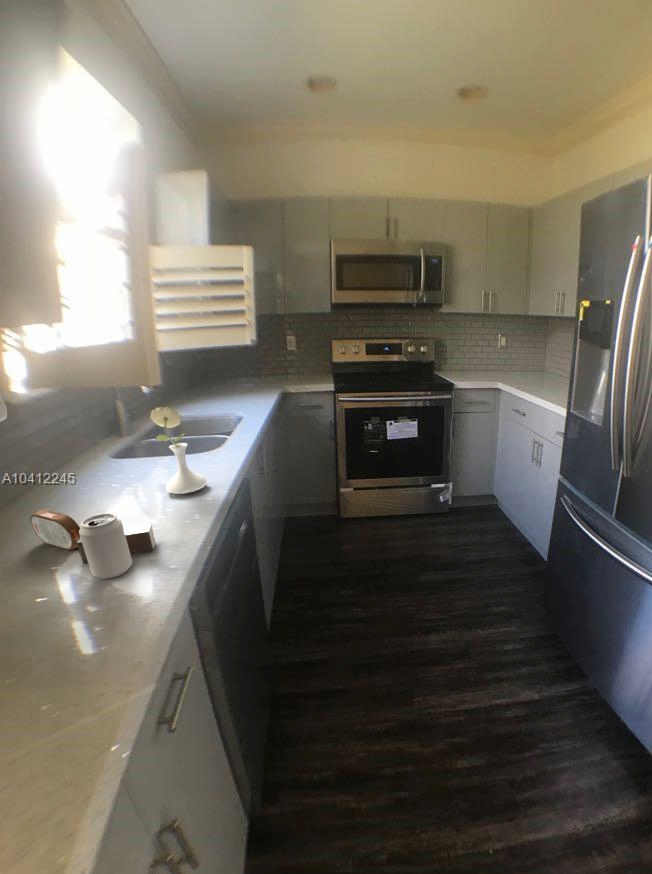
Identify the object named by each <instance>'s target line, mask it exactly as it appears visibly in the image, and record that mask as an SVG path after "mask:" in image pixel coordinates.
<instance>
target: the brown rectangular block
mask: <svg viewBox="0 0 652 874" xmlns="http://www.w3.org/2000/svg"><path fill="white" fill-rule="evenodd" d="M123 529H124V533H125V537H126V540H127V544H128V548H129V551H130V555H131V556H134V555H139V554H145V553H151V552H155V548H156V544H157V542H156V538H155V534H154V533H155V532H154V530H153V525H152V523H147V524H142V525H135V526H129V527H123ZM77 546H78V547H77V549H78V552H79V556H80V558H81V561H82V564H87V563H88V560H87V557H86V553H85V550H84V547H83V544H82V541H81V538H79V540H78V541H77ZM88 564H89V563H88Z"/></svg>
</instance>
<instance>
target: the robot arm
mask: <svg viewBox="0 0 652 874" xmlns="http://www.w3.org/2000/svg"><path fill="white" fill-rule="evenodd" d="M7 418H8V409H7V406H6V404H5V401H4V398H3V395H2V393H1V392H0V423H1V422H3V421H5V420H6V419H7Z"/></svg>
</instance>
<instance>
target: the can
mask: <svg viewBox="0 0 652 874" xmlns="http://www.w3.org/2000/svg"><path fill="white" fill-rule="evenodd" d="M80 528H81V529H80V530H79V534H80V538H81V541H82V544H83V547H84V550H85V553H86V557H87V560H88V567H89V570H90V572H91V575H92V576H93V577H96V578H98V579H102V580H105V579H106V580H109V579H113V578H116V577H119V576H121V575H123V574H125V573H126V572H128V571H129V570H130V568H131V566H132V565H133V562H134V561H133V559H132V555H130V551H129V548H128V544H127V540H126V537H125V533H124V529H123V528H124V526H123V521H122V519H119V518H117V515H116V514H115V513H109V512H108V513H106V512H105V513H99V514H95V515H92V516H89V517H87V518H85V519H84V520H82V521H81V522H80Z"/></svg>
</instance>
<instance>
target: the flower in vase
mask: <svg viewBox="0 0 652 874" xmlns="http://www.w3.org/2000/svg"><path fill="white" fill-rule="evenodd" d="M149 419H150V420H151V421H152V422H153V423H155V424H156V426H159V427H161V428H163V427H164V429H165V430H164V431H165V434H162V433H160V434H157V436H155V439H154V441H162V442H167V441H168V439H169V440H170V441H171V442H172V443H173V444H171V445H169V446H168V449H170V450H171V451H172V452H173V454H174V455H175V458H176V460H177V467H178V469H177V471H176V473H175V474H174V475H173V476H171V478H170V479H169V480H168V481H167V483H166V484H165V490H166V491H167V492H168V493H170V494H175V495H185V494H189V493H195V492H197V491H199V490H201V489H203V488H204V487H206V485H207V482H208V480H207V479H206V477H204V476H202V475H201V474H199V473H197V472H195V471H193V470H191V469H190V468H189V467H188V464H187V459H186V450H187V447H188V445H189V444H188V443H186V442H178V441H180V440H181V439H183V437H184V436H185V434H186V432H184V433H182V434H180V435H178V436H177V437H176V438H175V439H174V440H173V439H172V438H171V437H170V436H169V434H168V429H169V428H170V429H173V428H174V427H175V428H176V427H178V426H181V422H182V417H181V415H180V414H179V412H178V411H176V410H175V409H173V408H172V409H171V408H170V407H168V406H166V407H164V406H159V407H158V406H157V407H155V409H152V410H151V411H150V417H149ZM177 442H178V443H177Z"/></svg>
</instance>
